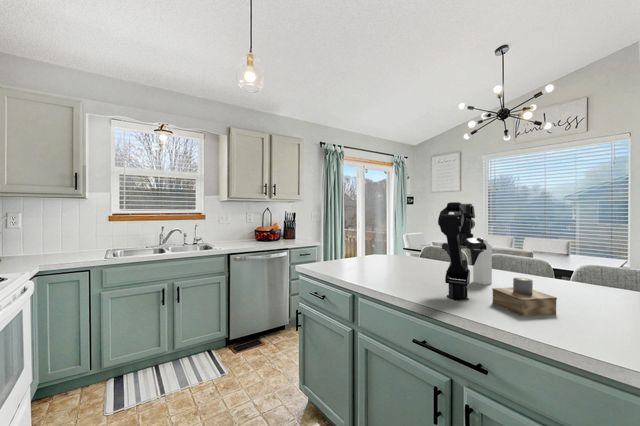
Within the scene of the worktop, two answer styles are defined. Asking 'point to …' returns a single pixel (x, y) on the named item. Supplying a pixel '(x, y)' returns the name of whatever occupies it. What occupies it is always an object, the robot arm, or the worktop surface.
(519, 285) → the grey rounded block
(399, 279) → the worktop surface
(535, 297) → the lid
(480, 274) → the milk
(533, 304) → the box
